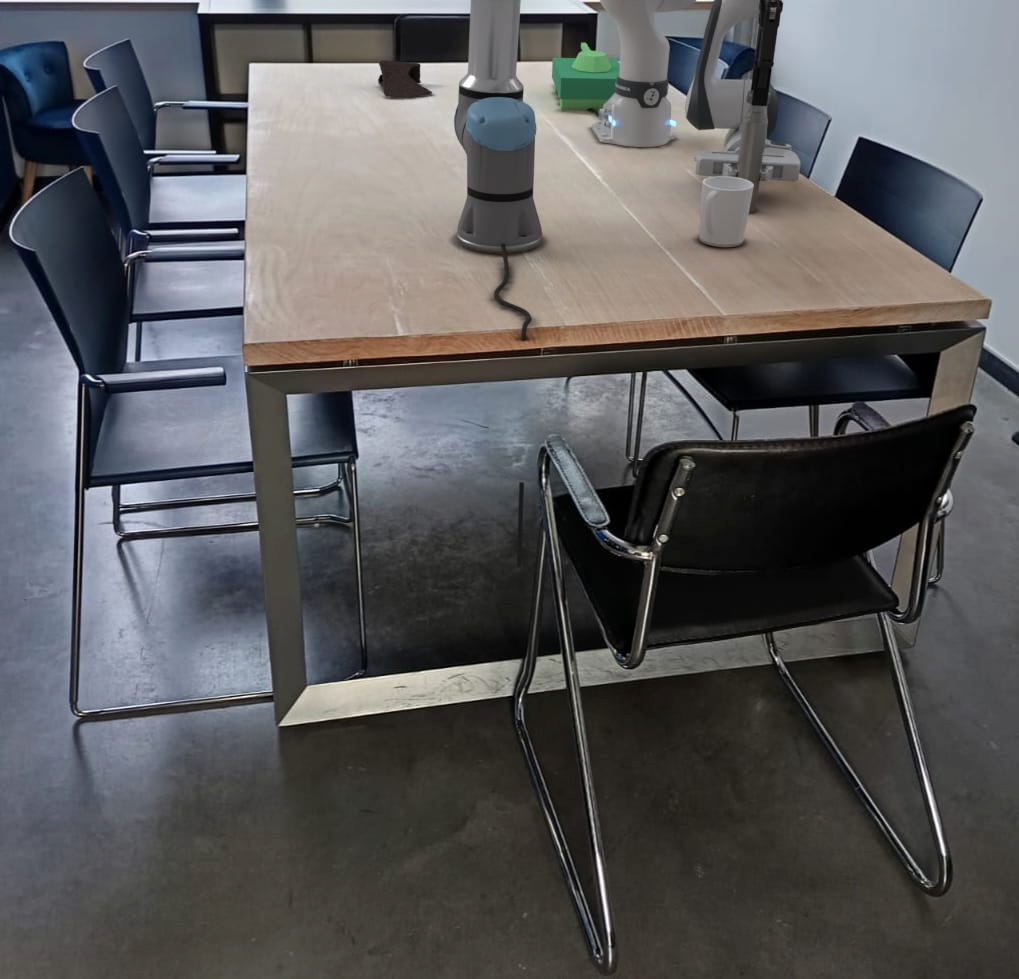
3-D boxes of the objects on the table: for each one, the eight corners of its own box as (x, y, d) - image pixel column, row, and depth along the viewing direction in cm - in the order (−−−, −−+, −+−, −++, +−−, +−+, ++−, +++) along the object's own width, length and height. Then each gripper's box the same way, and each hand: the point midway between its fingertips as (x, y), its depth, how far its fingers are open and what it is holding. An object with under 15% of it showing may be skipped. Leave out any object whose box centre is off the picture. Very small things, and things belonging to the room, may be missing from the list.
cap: (771, 105, 202) (773, 95, 201) (748, 104, 202) (750, 94, 201) (766, 100, 206) (768, 90, 205) (744, 99, 206) (745, 89, 205)
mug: (712, 228, 203) (718, 173, 198) (754, 239, 198) (762, 182, 193) (680, 243, 196) (686, 186, 191) (724, 254, 191) (731, 196, 186)
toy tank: (614, 39, 306) (631, 63, 276) (610, 85, 312) (627, 113, 282) (551, 38, 305) (561, 62, 275) (549, 84, 311) (559, 112, 281)
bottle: (738, 213, 212) (753, 100, 201) (727, 206, 216) (741, 95, 205) (759, 212, 213) (775, 99, 202) (748, 205, 217) (763, 94, 206)
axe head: (443, 87, 294) (392, 77, 287) (436, 115, 299) (385, 106, 292) (421, 62, 307) (371, 52, 300) (414, 89, 311) (365, 80, 304)
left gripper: (802, -28, 183) (782, 114, 195) (793, -41, 200) (775, 91, 212) (757, -30, 184) (739, 111, 196) (752, -42, 200) (736, 89, 212)
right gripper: (696, 139, 222) (695, 156, 210) (799, 144, 219) (804, 162, 207) (692, 170, 225) (692, 189, 213) (794, 176, 222) (799, 195, 211)
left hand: (758, 101), depth 204 cm, fingers open, 6 cm apart
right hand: (748, 176), depth 210 cm, fingers closed on bottle, 4 cm apart
